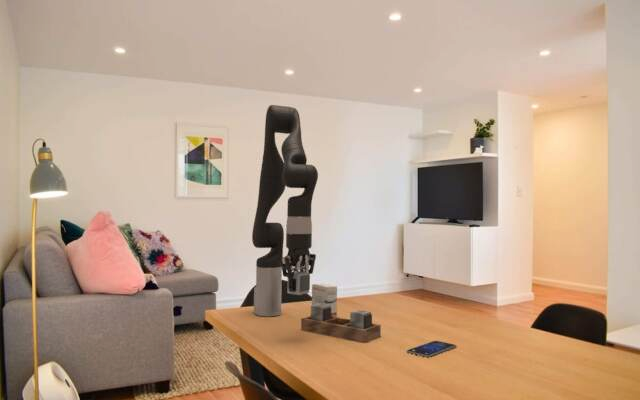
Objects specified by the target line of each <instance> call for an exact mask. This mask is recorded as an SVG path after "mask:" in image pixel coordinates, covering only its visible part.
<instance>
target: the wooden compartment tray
mask: <svg viewBox="0 0 640 400" xmlns="http://www.w3.org/2000/svg"><path fill="white" fill-rule="evenodd" d="M349 313H350V314H349V318H345V317H339V316H338V317H333V316H331V305H325V304H316V305H312V304H311V305H310V315H309V316H306V317H303V318H302V317H301V320H300V321H301V327H300V330H301V331H305V332H311V333H315V334H321V335H324V336H328V337H329V336H330V337H334V338H338V339H339V338H340V339H343V340H349V341H354V342H360V343H363V344H365V343H368V342H370V341H373V340H375V339H378V338H380V337H381V336H382V335H381V333H382V332H381V329H382V327H381V324H379V323H373V314H372V311H369V310H361V309H355V310H353V311H350V312H349Z"/></svg>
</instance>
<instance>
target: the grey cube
mask: <svg viewBox="0 0 640 400" xmlns="http://www.w3.org/2000/svg"><path fill="white" fill-rule="evenodd" d="M292 274H293V271H292ZM295 279H296V291H295V292H291V291H289V288H288V285H289V284H288V282H289V279H288V278H287V285H286V286H287V289H286V292H287V294H290V295H297V296H301V295H305V294H307V295H308V294H309V293H310V290H311V281H310V279H311V275H310V274H309V272H300V270H299V271H297V275H296V278H295Z"/></svg>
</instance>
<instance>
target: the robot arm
mask: <svg viewBox="0 0 640 400" xmlns="http://www.w3.org/2000/svg"><path fill="white" fill-rule="evenodd" d="M276 134H285V135H286V134H288V136H287V137H286V138H285V139H284V141H283V142H282V145H281V154H280V152H279V148H278V146H277V143H276V136H275V135H276ZM302 139H303V138H302V128H301V118H300V113H299V111H298V109H296V108H295V107H292V106H284V105H278V104H277V105H276V104H270V105H269V106H268V107H267V110H266V115H265V126H264V141H263V142H264V144H263V145H264V146H263V154H262V162H261V168H260V169H261V170H260V177H259V185H258V199H257V204H256V205H257V206H256V211H255V217H254V222H253V227H252V232H251V233H252V235H251V236H252V237H251V241H252V244H253V247H255V248H258V249H270V251H269V252H268V253H266V254H265V255H263V256H260V257H258V258H257V259H256V262H255V263H256V264H255V267H256V269H255V270H256V271H255V273H256V274H255V275H256V278H255V281H256V282H255V287H253V314H255V315H257V316H260V317H276V316H280V315H281V314H282V289H283V288H282V287H283V286H282V284H283V283H282V279H283V277H285V278H287V280H288V279H289V282H288V281H287V285H288V284H289V285H288V288H289V291H291V292H295V291H296V279H295V278H296V275H297V271H300V272H309V275H310V274H311V275H313V273H314V267H315V263H316V258H317V255H316V254H315V253H310V249H312V246H313V245H312V244H313V243H312V239H313V237H312V236H313V235H312V234H313V233H312V232H313V229H312V228H313V224H312V223H313V221H312V201H313V197H314V192H315V190H316V189H315V188H316V186H317V182H318V179H319V173H318V169H317V168H316V166H314V165H313V164H307V161H308V160H307V155H306V151H305V149H304V145H303V141H302ZM281 155H282V156H281ZM286 187H287V188H289V189H303V191H302V193H301V194H298V195H293V196H290V197H289V198H288V199H287V212H286V214H287V217H286V231H285V233H286V234H285V233H284V226H283V225H282V224H281V222H267V220H268V216H269V214H270V213H271V211H272V209H273V207H274V206H275V205H276V203H277V202H278V201H279V199H280V198H281V197H282V195H283V193H284V192H285V190H286ZM284 236H286V237H284ZM284 238H285V239H284ZM284 240H285V247H286V248H287V249H288V252H287V254H286V255H285V256H284ZM292 272H293V274H292ZM282 276H283V277H282Z"/></svg>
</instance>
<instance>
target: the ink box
mask: <svg viewBox="0 0 640 400" xmlns="http://www.w3.org/2000/svg"><path fill="white" fill-rule="evenodd" d="M316 304H325V305H331V316H333V317H337V315H338V311H337V310H338V309H337V307H338V306H337V305H338V286H337V285H331V284H324V283H312V284H311V306H312V305H316Z"/></svg>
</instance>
